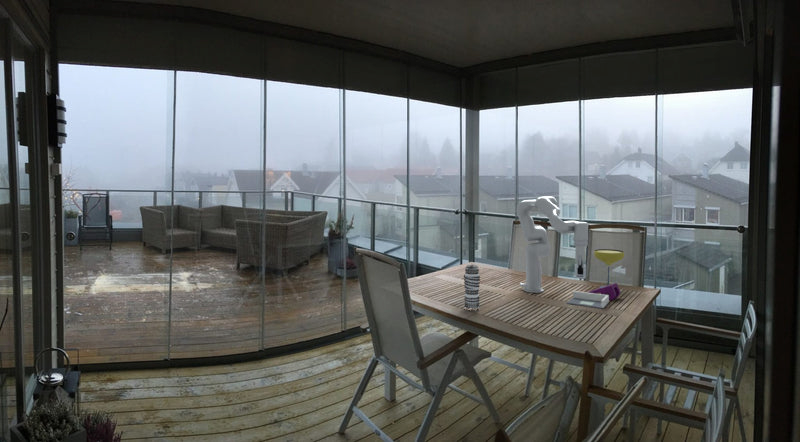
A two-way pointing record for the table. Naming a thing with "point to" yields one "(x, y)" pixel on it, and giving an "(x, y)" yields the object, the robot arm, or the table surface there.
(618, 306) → the table surface
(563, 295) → the table surface
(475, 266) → the decorative candle
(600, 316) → the table surface
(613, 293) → the mounting bracket
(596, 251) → the cocktail glass
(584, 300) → the tray
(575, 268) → the angle bracket
